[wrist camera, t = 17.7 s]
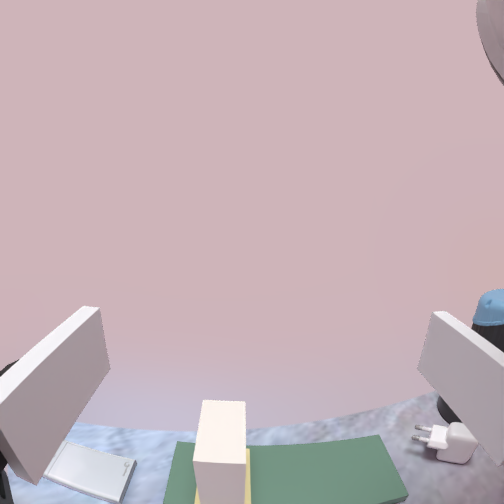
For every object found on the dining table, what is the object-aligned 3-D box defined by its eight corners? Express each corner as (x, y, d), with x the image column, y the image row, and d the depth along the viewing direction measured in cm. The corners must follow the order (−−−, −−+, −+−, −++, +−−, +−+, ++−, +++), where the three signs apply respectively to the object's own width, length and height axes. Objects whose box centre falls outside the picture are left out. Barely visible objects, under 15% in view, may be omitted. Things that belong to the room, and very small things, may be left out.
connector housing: (243, 452, 35) (245, 401, 33) (244, 509, 25) (246, 463, 23) (207, 451, 35) (203, 399, 33) (200, 507, 25) (192, 460, 23)
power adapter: (402, 456, 33) (415, 429, 32) (409, 436, 37) (421, 410, 36) (465, 468, 27) (482, 442, 26) (467, 448, 31) (482, 422, 30)
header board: (376, 440, 38) (385, 416, 36) (404, 500, 25) (420, 477, 24) (178, 447, 37) (174, 422, 36) (163, 516, 24) (154, 496, 23)
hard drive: (135, 458, 32) (62, 437, 32) (118, 501, 24) (39, 472, 24) (138, 465, 32) (65, 444, 32) (122, 507, 24) (43, 479, 24)
